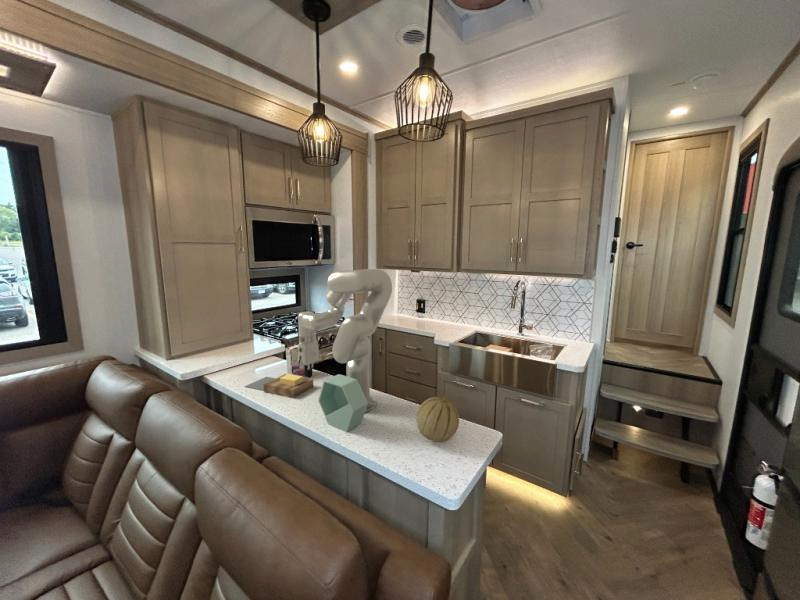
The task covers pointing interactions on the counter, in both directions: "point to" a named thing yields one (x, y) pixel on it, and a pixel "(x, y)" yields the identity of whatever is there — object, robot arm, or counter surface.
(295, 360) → the candy bar box
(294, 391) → the block
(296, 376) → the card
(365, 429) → the counter surface
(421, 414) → the cantaloupe
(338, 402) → the planter
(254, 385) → the mat
